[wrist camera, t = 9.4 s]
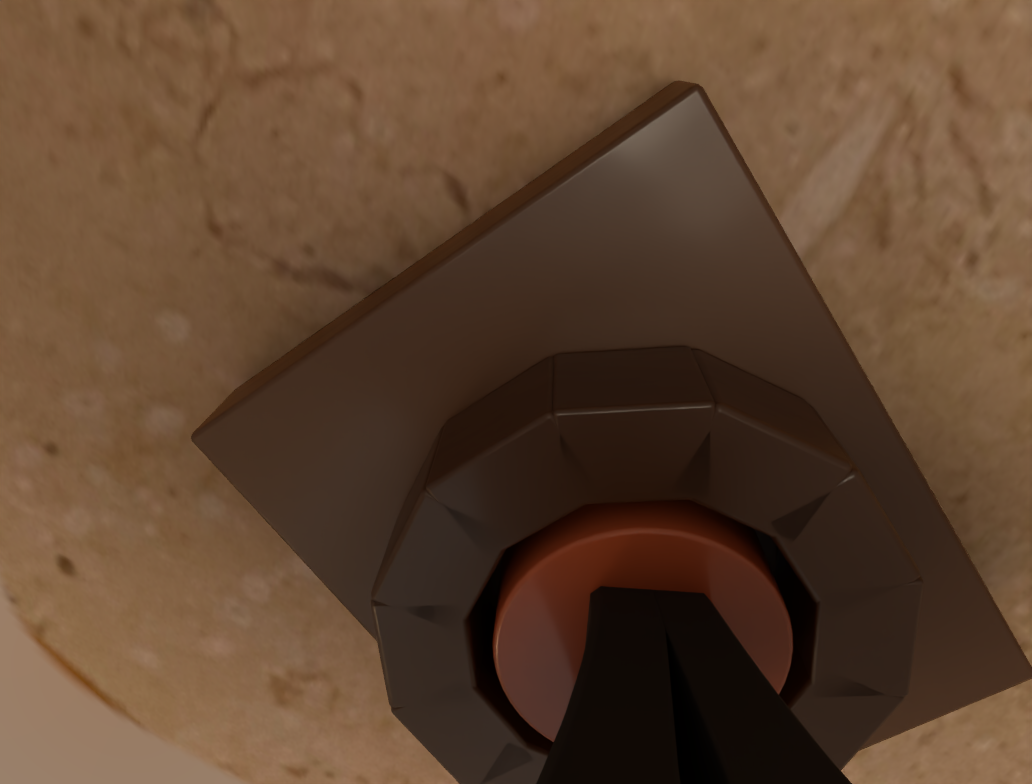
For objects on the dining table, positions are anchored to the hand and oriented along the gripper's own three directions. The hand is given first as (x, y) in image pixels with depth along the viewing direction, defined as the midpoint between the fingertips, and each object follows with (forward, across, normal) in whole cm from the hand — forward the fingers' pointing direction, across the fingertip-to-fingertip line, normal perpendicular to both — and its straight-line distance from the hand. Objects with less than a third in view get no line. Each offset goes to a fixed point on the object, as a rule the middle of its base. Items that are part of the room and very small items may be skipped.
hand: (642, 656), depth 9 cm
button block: (+4, 0, 0) cm, 4 cm away
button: (+2, 0, 0) cm, 2 cm away
